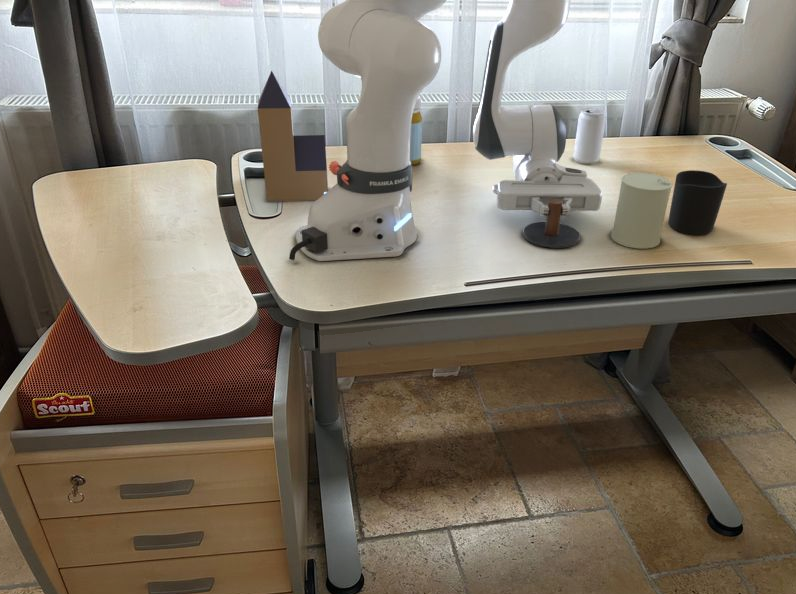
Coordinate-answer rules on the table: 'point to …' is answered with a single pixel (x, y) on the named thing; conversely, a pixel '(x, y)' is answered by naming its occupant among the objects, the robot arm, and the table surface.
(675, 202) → the pen holder
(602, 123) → the beverage can
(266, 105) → the toy building blocks
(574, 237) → the lid
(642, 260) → the table surface
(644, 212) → the can
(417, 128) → the bottle
